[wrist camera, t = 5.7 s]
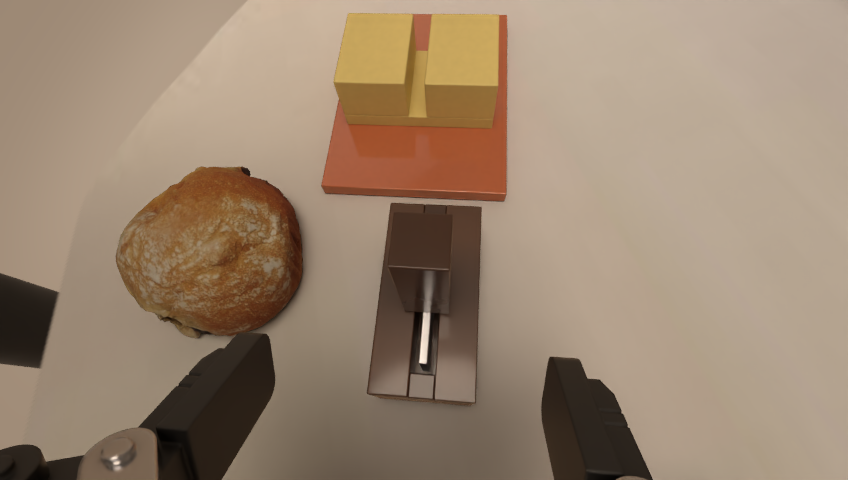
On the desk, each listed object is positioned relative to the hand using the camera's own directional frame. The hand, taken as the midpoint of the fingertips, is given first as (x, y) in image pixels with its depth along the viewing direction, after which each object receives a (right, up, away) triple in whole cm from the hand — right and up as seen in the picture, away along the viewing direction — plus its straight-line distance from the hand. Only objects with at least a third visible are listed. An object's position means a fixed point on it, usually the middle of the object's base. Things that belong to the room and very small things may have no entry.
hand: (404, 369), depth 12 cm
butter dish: (+1, +14, +19) cm, 23 cm away
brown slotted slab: (+1, -1, +13) cm, 13 cm away
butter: (0, +14, +18) cm, 23 cm away
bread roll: (-12, +2, +15) cm, 19 cm away
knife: (+1, 0, +12) cm, 12 cm away
